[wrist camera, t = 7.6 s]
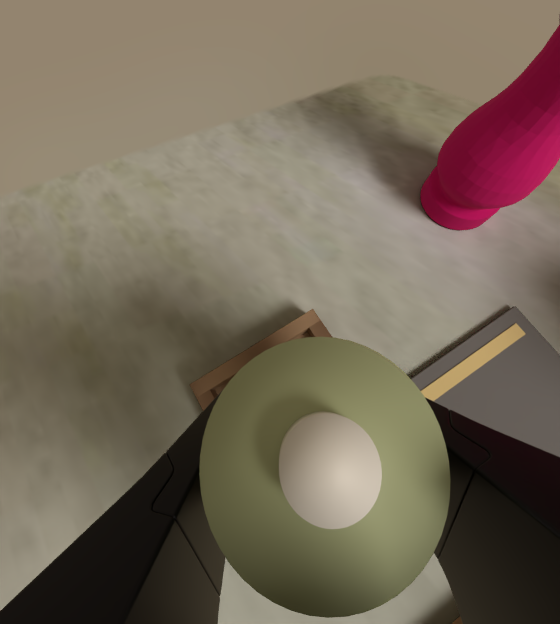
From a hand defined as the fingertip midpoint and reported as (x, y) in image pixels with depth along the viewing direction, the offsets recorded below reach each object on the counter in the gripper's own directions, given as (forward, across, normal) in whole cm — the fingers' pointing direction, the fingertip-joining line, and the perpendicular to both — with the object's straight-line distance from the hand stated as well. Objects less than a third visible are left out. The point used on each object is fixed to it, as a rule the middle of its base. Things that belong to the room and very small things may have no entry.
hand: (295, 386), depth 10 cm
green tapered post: (+4, 0, -6) cm, 7 cm away
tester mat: (+4, +16, -10) cm, 19 cm away
